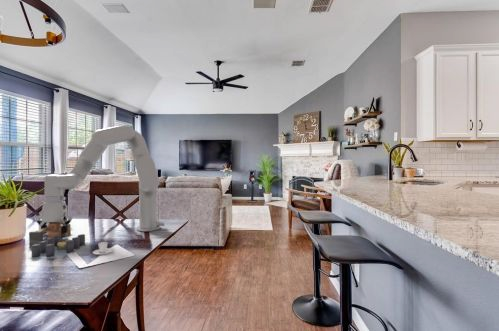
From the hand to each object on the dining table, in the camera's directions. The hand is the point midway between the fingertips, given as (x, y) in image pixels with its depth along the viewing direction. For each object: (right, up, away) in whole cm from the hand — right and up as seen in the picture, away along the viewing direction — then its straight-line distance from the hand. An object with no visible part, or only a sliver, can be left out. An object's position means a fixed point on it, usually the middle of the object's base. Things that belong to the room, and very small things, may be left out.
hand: (54, 233), depth 134 cm
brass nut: (+15, -3, -16) cm, 22 cm away
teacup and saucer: (+36, -3, -23) cm, 43 cm away
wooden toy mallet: (0, -3, -2) cm, 4 cm away
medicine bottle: (-10, -3, +10) cm, 15 cm away
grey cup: (-15, -2, +23) cm, 27 cm away
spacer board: (+16, -3, -18) cm, 24 cm away
